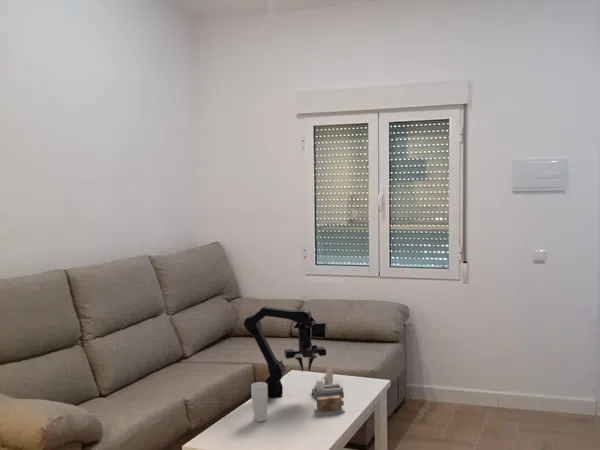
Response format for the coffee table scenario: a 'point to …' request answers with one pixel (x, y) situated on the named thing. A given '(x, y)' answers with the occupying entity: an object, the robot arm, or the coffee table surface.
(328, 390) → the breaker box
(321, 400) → the brown rectangular block
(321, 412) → the pad
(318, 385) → the toggle
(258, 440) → the coffee table surface
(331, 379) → the architectural model
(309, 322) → the robot arm
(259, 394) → the drinking glass
